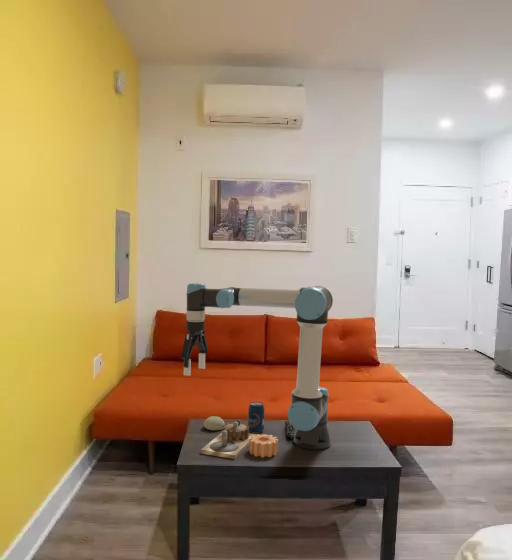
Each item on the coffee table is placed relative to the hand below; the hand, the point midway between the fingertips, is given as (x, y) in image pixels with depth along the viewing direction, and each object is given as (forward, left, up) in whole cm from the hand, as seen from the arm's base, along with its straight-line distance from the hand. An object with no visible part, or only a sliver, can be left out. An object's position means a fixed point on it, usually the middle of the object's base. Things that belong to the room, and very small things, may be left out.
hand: (194, 371), depth 205 cm
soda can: (-21, -17, -28) cm, 39 cm away
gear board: (-17, +3, -27) cm, 33 cm away
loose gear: (-32, +4, -27) cm, 42 cm away
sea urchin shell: (-4, -13, -28) cm, 31 cm away
